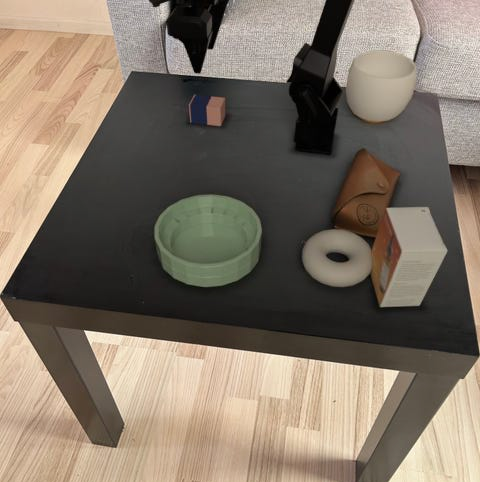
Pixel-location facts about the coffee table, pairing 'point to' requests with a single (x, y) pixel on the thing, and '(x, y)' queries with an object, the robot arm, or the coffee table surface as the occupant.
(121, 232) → the coffee table surface
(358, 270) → the donut
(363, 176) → the sunglasses case
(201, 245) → the bowl
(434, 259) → the small box
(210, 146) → the coffee table surface
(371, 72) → the cup
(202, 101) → the eraser
